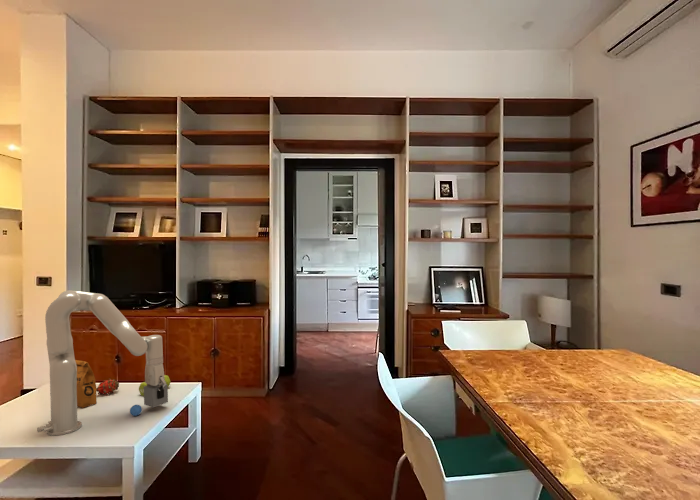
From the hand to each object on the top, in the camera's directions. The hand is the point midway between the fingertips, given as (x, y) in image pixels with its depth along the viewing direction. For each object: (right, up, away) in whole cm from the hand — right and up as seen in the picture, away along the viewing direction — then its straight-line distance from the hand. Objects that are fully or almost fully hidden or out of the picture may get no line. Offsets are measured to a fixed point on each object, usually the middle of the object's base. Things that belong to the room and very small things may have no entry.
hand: (155, 396), depth 202 cm
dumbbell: (-12, -6, +24) cm, 28 cm away
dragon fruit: (-36, -7, +21) cm, 43 cm away
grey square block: (0, -3, 0) cm, 3 cm away
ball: (-6, -4, -8) cm, 10 cm away
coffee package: (-40, -7, +7) cm, 41 cm away
